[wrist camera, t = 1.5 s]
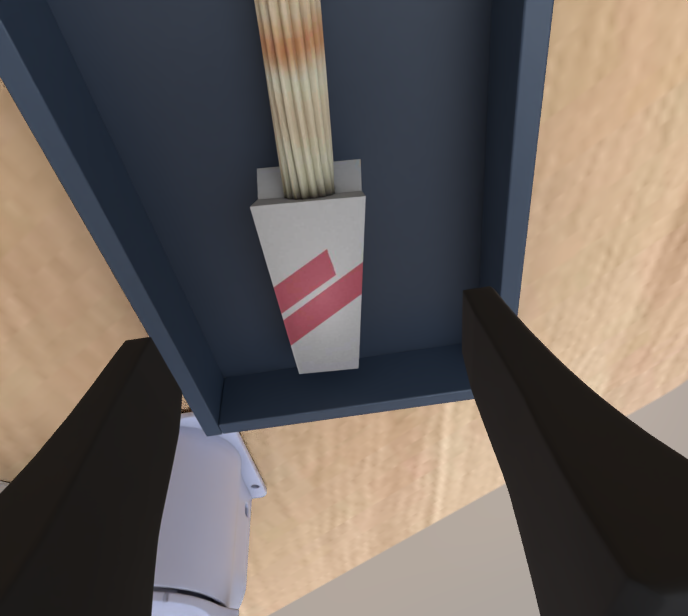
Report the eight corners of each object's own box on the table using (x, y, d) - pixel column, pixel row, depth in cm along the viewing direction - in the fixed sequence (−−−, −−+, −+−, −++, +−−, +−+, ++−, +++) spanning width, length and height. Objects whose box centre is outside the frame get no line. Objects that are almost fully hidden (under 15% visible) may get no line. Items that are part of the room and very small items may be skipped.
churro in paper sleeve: (286, 399, 24) (164, -245, 11) (287, 355, 26) (187, -228, 13) (372, 392, 24) (355, -258, 11) (366, 349, 26) (347, -239, 13)
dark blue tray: (491, 348, 27) (508, 395, 25) (213, 388, 28) (206, 437, 26) (550, -453, 11) (616, -523, 8) (-135, -306, 11) (-238, -334, 9)
